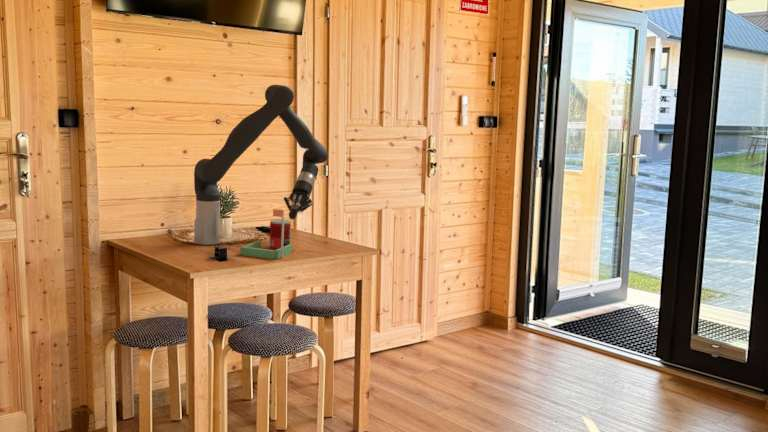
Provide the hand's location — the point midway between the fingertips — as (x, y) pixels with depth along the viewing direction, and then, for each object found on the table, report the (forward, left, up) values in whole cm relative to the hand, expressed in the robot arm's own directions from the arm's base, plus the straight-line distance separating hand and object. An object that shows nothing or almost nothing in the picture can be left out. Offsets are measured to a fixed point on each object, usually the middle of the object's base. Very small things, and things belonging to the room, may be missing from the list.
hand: (291, 217), depth 289 cm
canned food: (-4, -10, -11) cm, 15 cm away
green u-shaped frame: (-7, -20, -11) cm, 24 cm away
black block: (-23, -32, -11) cm, 41 cm away
